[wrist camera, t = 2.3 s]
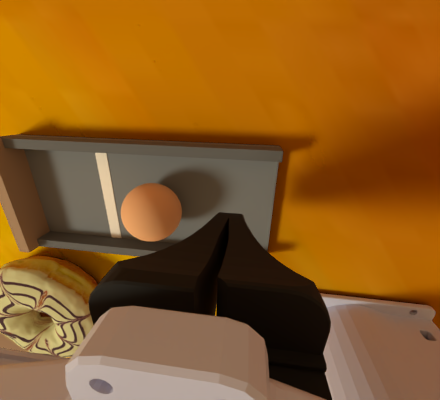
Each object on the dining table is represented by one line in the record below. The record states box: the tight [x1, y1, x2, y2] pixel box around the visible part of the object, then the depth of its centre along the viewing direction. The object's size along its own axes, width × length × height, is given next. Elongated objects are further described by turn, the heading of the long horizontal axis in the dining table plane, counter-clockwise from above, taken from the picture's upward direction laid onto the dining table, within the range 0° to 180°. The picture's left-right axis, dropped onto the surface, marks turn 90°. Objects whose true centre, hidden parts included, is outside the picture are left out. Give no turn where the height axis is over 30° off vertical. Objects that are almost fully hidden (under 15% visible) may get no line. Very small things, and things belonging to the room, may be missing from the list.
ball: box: [121, 183, 182, 241], centre depth 14 cm, size 4×4×4 cm
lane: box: [0, 135, 283, 256], centre depth 15 cm, size 18×8×3 cm, turn 89°
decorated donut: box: [0, 256, 98, 358], centre depth 20 cm, size 10×11×4 cm
